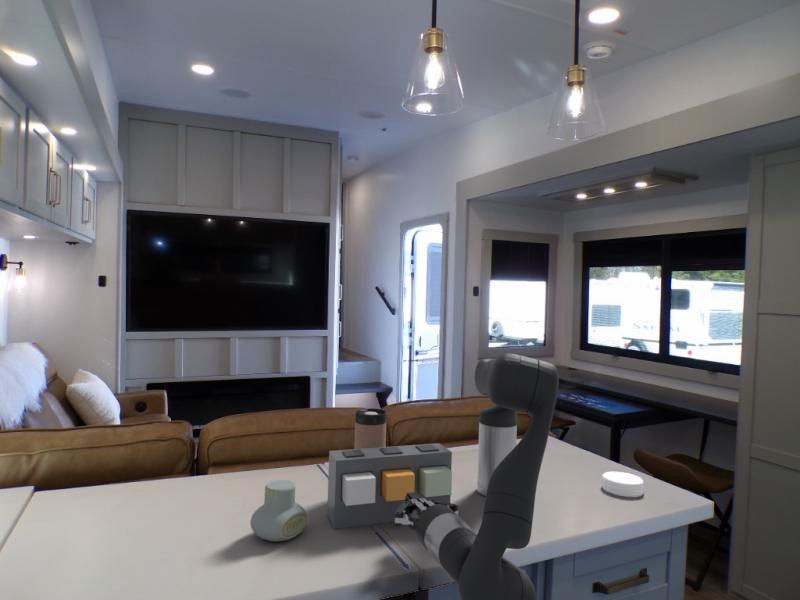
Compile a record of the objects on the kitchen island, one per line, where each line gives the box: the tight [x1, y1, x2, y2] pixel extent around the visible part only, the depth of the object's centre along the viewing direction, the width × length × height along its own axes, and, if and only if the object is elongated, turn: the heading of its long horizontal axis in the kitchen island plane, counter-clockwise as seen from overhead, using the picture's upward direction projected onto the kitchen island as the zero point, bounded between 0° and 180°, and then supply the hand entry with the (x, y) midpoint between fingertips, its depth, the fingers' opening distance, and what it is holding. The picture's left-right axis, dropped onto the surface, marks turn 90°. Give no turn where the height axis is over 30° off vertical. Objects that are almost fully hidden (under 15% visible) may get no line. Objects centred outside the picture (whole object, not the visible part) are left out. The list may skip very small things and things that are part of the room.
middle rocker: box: [380, 468, 415, 501], centre depth 109 cm, size 6×7×5 cm
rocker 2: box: [418, 465, 453, 497], centre depth 112 cm, size 6×7×5 cm
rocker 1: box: [341, 471, 376, 506], centre depth 106 cm, size 6×7×5 cm
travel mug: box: [353, 408, 387, 449], centre depth 124 cm, size 8×8×20 cm
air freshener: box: [250, 479, 308, 542], centre depth 102 cm, size 11×8×10 cm
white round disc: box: [601, 471, 645, 498], centre depth 132 cm, size 10×10×4 cm
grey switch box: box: [326, 443, 453, 530], centre depth 112 cm, size 26×7×14 cm, turn 109°
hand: (409, 497), depth 101 cm, fingers closed
